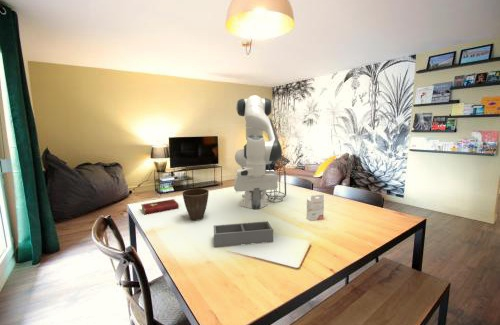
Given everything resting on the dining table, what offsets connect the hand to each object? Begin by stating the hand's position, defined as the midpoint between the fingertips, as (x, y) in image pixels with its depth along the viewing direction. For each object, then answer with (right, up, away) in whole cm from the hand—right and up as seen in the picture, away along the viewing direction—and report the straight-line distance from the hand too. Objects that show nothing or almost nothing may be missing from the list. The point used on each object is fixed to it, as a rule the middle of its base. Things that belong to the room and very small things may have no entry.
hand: (256, 199), depth 110 cm
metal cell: (0, -4, 0) cm, 4 cm away
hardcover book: (-62, -14, +45) cm, 78 cm away
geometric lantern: (+16, -11, +63) cm, 66 cm away
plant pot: (-34, -16, +29) cm, 48 cm away
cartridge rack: (-6, -19, +2) cm, 20 cm away
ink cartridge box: (+35, -16, +27) cm, 47 cm away
